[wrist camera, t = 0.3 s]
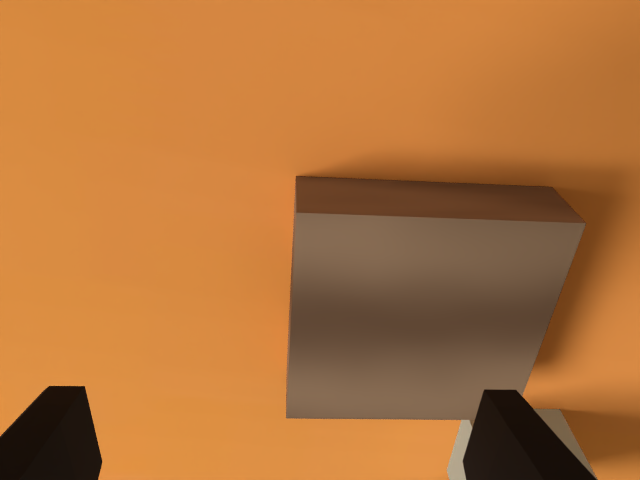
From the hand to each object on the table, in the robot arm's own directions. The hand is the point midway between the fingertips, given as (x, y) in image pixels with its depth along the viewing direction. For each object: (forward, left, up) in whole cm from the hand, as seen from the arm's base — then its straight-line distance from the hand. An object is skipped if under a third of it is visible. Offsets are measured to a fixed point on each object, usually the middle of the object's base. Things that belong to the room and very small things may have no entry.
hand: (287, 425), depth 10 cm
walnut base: (-4, -5, -10) cm, 12 cm away
